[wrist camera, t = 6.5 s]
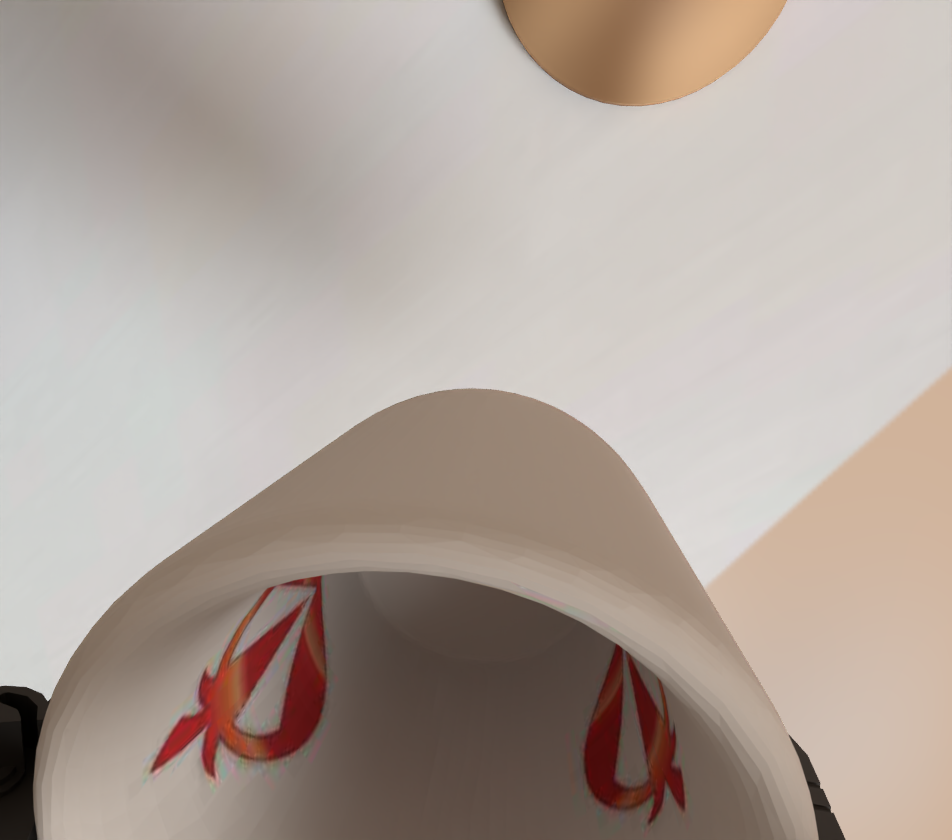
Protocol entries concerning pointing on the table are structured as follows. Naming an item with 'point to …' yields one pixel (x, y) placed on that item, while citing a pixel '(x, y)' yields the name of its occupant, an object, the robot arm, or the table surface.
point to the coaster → (640, 43)
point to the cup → (423, 659)
